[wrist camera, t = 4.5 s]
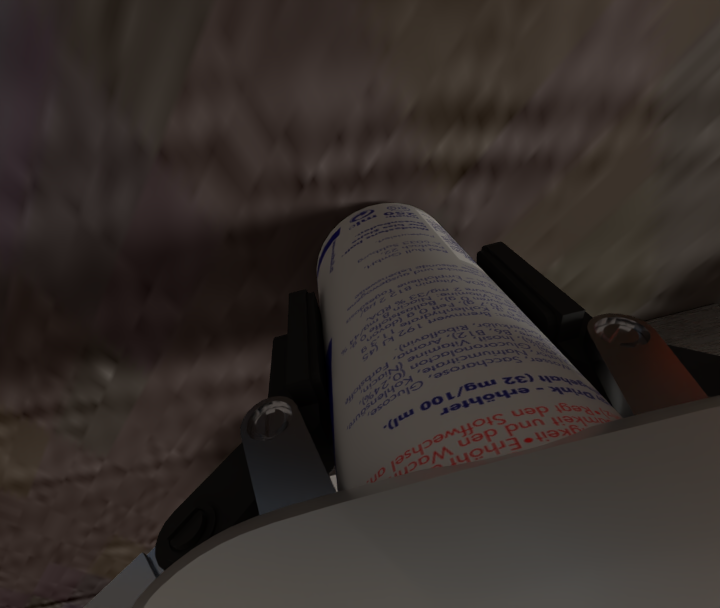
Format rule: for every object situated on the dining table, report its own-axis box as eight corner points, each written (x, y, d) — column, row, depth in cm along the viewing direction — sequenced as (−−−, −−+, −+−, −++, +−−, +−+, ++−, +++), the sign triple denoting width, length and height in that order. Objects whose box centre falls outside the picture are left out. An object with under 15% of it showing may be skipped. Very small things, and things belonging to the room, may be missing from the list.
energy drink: (339, 334, 15) (414, 791, 6) (295, 226, 12) (285, 815, 3) (453, 297, 15) (738, 704, 5) (437, 179, 12) (1015, 615, 2)
